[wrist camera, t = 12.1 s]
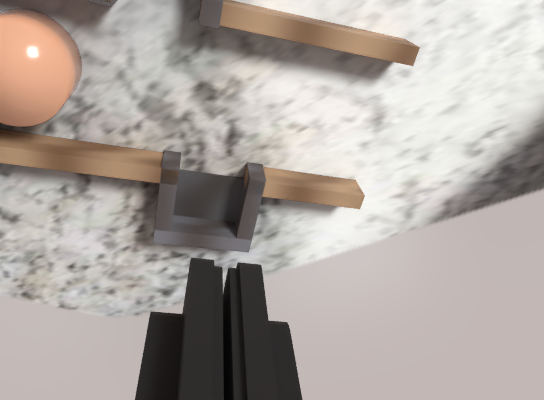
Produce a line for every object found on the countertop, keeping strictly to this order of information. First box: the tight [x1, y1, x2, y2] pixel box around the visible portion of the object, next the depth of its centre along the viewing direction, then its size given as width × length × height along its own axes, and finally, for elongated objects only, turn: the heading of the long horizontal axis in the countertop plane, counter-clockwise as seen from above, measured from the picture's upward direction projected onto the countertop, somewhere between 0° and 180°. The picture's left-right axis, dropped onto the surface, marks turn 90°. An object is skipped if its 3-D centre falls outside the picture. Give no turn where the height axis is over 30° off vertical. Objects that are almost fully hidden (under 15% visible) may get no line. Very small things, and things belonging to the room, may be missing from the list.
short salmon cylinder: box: [0, 9, 82, 126], centre depth 27 cm, size 6×6×4 cm
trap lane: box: [0, 0, 420, 252], centre depth 29 cm, size 28×23×6 cm
